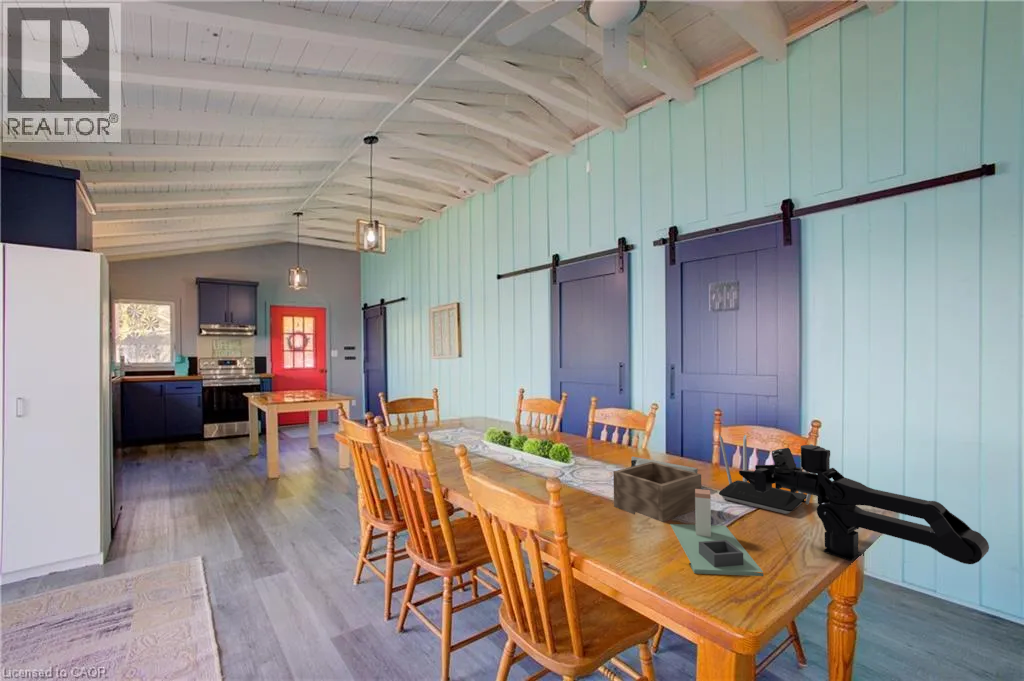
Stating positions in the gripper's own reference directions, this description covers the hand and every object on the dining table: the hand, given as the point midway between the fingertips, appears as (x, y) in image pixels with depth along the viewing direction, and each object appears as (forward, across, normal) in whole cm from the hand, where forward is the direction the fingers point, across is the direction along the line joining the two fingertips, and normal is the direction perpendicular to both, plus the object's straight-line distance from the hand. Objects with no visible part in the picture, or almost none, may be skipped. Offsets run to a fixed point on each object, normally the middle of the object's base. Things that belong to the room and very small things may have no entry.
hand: (747, 469), depth 146 cm
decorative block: (+43, -14, +17) cm, 48 cm away
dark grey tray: (-9, +30, +17) cm, 36 cm away
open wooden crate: (+25, +12, +16) cm, 32 cm away
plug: (+2, +20, +16) cm, 25 cm away
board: (-3, +25, +16) cm, 30 cm away
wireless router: (+8, -25, +17) cm, 31 cm away
